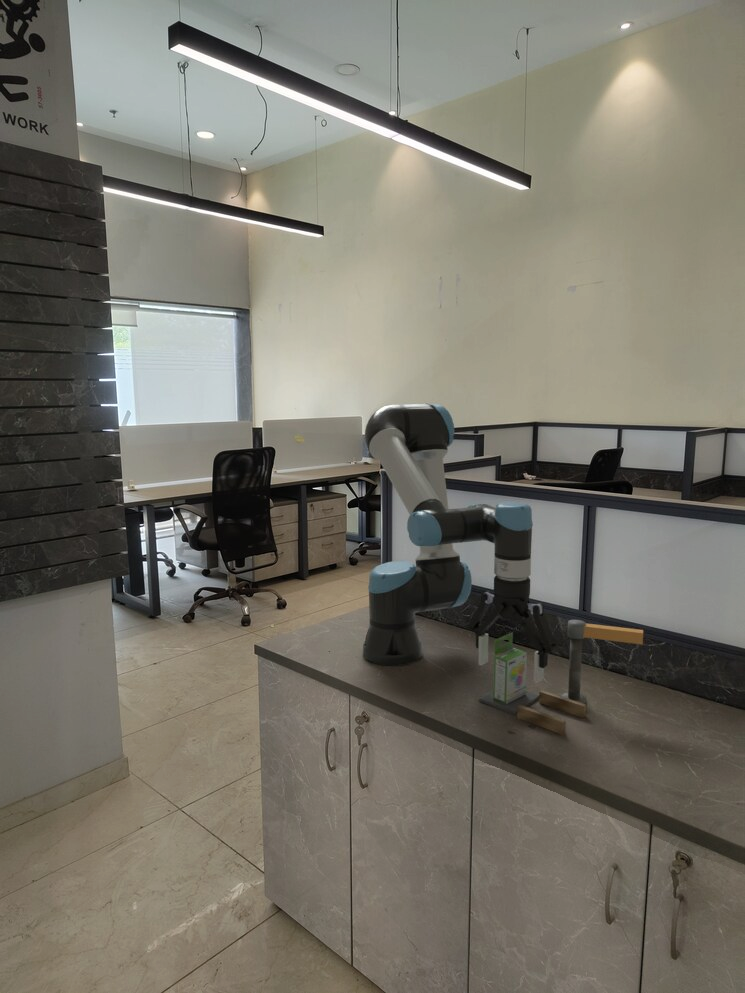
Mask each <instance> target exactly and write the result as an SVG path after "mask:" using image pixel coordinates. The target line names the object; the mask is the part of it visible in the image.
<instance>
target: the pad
mask: <svg viewBox="0 0 745 993" xmlns="http://www.w3.org/2000/svg"><path fill="white" fill-rule="evenodd" d="M537 700H539V694H538V693H537V694H536V693H534V692H532V691H531V692H530V691H527V690H526V695H524V696H522V697H520V698H518V699H516V700H514V701H512V702H510V703H508V704H505V703H502V702H500V701H498V700H496V699H494V698H493V689H492V690H491V691H489V692H487V693H486V694H484V695H483V696H480V697H479V698H478V701H479V702H481V703H484V704H486V705H489V706H491V707H494V708H496V709H499V710H502V711H505V712H507V713H511V714H513V715H517V713H518V706H519V705H522V706H525V707H529V706H530V705H532V704H533V703H535V702H536V701H537Z"/></svg>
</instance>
